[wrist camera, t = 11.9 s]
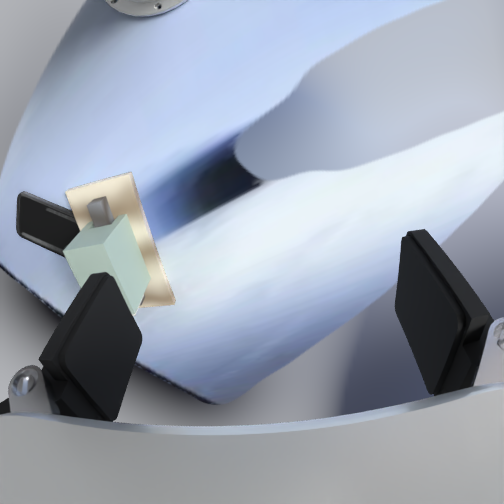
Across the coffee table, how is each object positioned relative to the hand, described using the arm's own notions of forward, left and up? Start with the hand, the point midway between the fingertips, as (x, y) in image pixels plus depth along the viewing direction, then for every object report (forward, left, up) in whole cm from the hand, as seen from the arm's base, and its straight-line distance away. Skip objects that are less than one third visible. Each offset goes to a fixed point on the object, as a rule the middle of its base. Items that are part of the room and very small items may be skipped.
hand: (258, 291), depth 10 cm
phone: (+7, -31, -29) cm, 43 cm away
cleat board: (+12, -21, -28) cm, 37 cm away
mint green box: (+12, -21, -27) cm, 36 cm away
